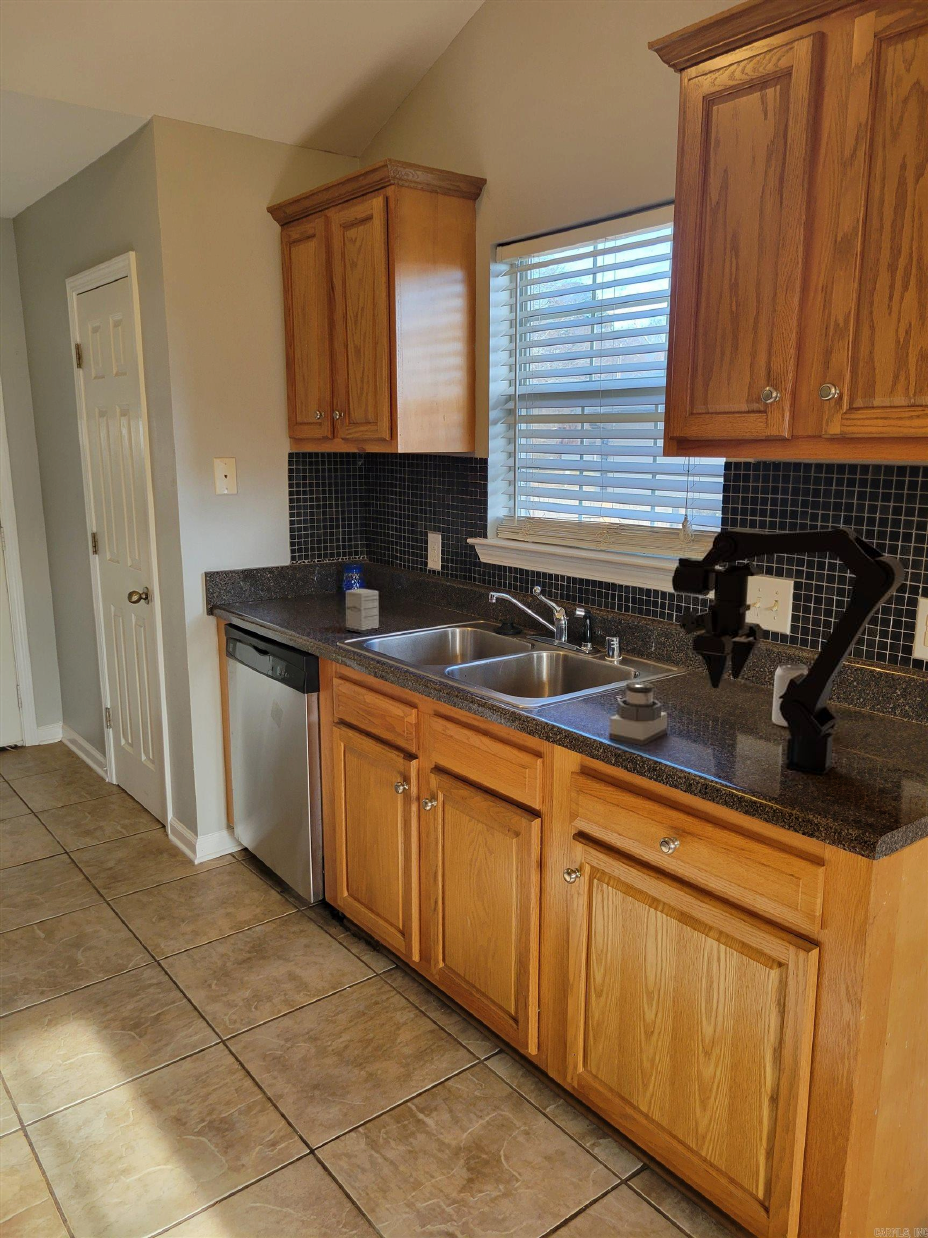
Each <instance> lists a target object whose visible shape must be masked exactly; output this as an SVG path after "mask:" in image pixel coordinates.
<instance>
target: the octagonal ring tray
mask: <svg viewBox="0 0 928 1238" xmlns="http://www.w3.org/2000/svg"><path fill="white" fill-rule="evenodd" d="M616 705H617V707H616V709H617V710H616V711H617V712H616V715H614V716H613V715H612V716H611V717H609V733H608V739H614V740H617V741H621V742H626V743H631V744H635V745H640V746H643V745H645V744H647V743H649V742H651V741H653V740H655V739H658V738H659V737H661V736H663V735H665V734H666V733H668V732H667V730H668V724H667V722H668V713H667V712H663V711H662V703H661V702H659V701H658V700H656V699H653V707H645V708H637V707H631V706H626V697H624V698H621V699H619V700H618V701H617V703H616Z"/></svg>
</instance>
